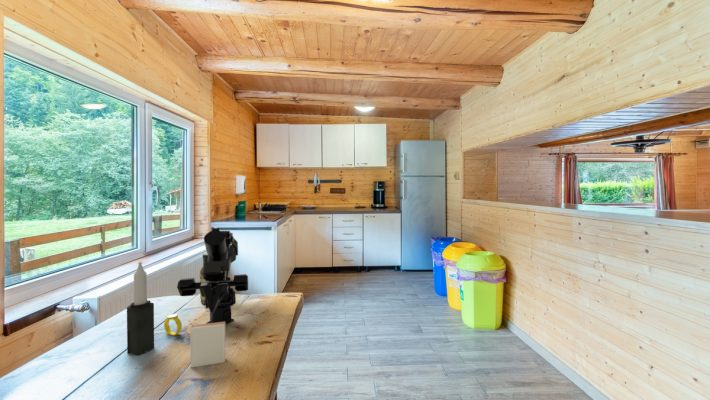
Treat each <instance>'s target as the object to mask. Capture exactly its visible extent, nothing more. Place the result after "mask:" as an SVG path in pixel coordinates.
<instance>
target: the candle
mask: <svg viewBox="0 0 710 400" xmlns="http://www.w3.org/2000/svg"><path fill="white" fill-rule="evenodd" d="M142 264H143V262H142V261H139V262H138V266H137V268H136V271H135V272H134V274H133V302H131V303H130V304H129V305H128V306H127V307H126V337H127V338H126V341H127V344H126V348H127V349H126V353H127V354H130V355H134V356H142V355H143V354H146V353H147V352H150V351H151V350H153V349H154V348H155V306H154V305H155V304H154V303H153V302H151V300H148V296H147V295H148V294H147V293H148V290H147V289H148V287H147V286H148V284H147V283H148V281H147V278H148V277H147V274H148V273H147V272H146V271H145V269H144V268H143V267H144V266H143V265H142Z"/></svg>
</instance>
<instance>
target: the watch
mask: <svg viewBox="0 0 710 400" xmlns="http://www.w3.org/2000/svg"><path fill="white" fill-rule="evenodd" d="M170 320H173V321H174V322H175V324H176V332H175V331H172V330H171V328H170ZM163 327H164V330H165V333H167V335H169V336H170V335H171V336H173V337H175V336H177V335H178V334H180V333H181V332H182V329H183V326H182V321H181V319H180V317H179V315H178V314H177V313H173V314H169V315H167V317H166V319H165V320H164V322H163Z"/></svg>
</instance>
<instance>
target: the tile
mask: <svg viewBox="0 0 710 400" xmlns="http://www.w3.org/2000/svg"><path fill="white" fill-rule="evenodd" d="M189 340H190V344H189V345H190V368H197V367H202V366H203V367H204V366H209V365H215V364H222V363H225V362H226V354H227V353H226V351H227V350H226V325H225V322H216V323H208V324H206V323H201V324H194V325H193V324H192V325H191V327H190V339H189Z"/></svg>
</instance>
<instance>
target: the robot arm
mask: <svg viewBox="0 0 710 400" xmlns="http://www.w3.org/2000/svg"><path fill="white" fill-rule="evenodd" d="M211 228H212V229H211V230H210V231H208V232H207V233H206V234H205V235H204V237H203V243H204V246H205V251H206V253H207V254H208V261H207V262H204V267H203V266H202V267H203V279H205V281H201V282H200V281H198V282H196V280H195V277H190V278H189V277H188V278H181V279H179V280H178V282H177V285H176V286H177V287H176V288H177V291H178V293H179V296H181V297H188V296H191V297H192V296H194V295H196V293H197V290H199V294H200V293H201V296H202V297H205V304H204V305H205V309H209V321H207V322H205V324H208V323H216V322H225V326H227V325H228V324H230V323H233V322H234V321H235V318H232V309H231V308H232V307H233V306H234V305H236V304H237V303H236V301H237V299H236V298H237V296H236V292H245V291H248V290H249V276H248V275H247V273H246V274H244V273H243V274H234V275H233V279H231V277H230V274H231V273H230V272H231V265H232V263H234V262H235V261H236V260H237V256H239V245H238V244H239V243H238V240H237V239H236V238H235V237H234V233H233V232H231V231H230V230H220V228H219V227H211Z"/></svg>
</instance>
